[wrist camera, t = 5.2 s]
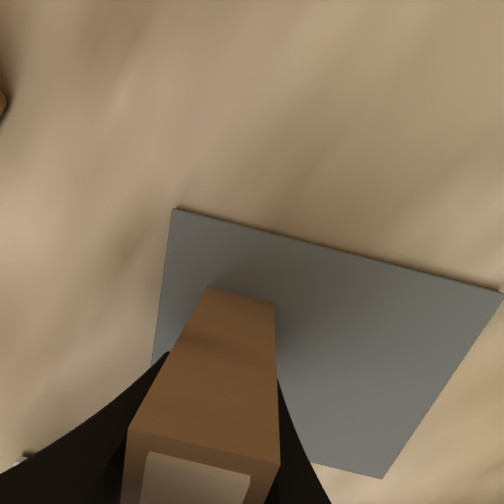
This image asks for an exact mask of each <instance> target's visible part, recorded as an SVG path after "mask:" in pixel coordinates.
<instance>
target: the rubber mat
mask: <svg viewBox="0 0 504 504" xmlns="http://www.w3.org/2000/svg"><path fill="white" fill-rule="evenodd" d="M206 287H210V288H214V289H218V290H222V291H226V292H230V293H234V294H238V295H242V296H246V297H250V298H254V299H258V300H262V301H266V302H269V303H273V304H274V321H275V344H276V368H277V379H278V380H279V383H280V387H281V390H282V393H283V396H284V400H285V402H286V405H287V408H288V411H289V414H290V417H291V419H292V422H293V424H294V427H295V429H296V432H297V434H298V437H299V439H300V441H301V444H302V446H303V448H304V451H305V453H306V455H307V457H308V459H309V461H310V462H313V463H317V464H321V465H325V466H329V467H333V468H337V469H341V470H345V471H349V472H353V473H357V474H362V475H366V476H370V477H374V478H378V479H383V477H384V476H385V474H386V473H387V471H388V470H389V468H390V467H391V465H392V464H393V463H394V461H395V460H396V458H397V457H398V455H399V454H400V452H401V451H402V449H403V448H404V446H405V445H406V443H407V442H408V440H409V439H410V437H411V436H412V434H413V433H414V431H415V430H416V428H417V427H418V425H419V424H420V422H421V421H422V419H423V418H424V416H425V415H426V414H427V412H428V411H429V409H430V408H431V406H432V405H433V403H434V402H435V400H436V399H437V397H438V396H439V394H440V393H441V391H442V390H443V388H444V387H445V385H446V384H447V382H448V381H449V379H450V378H451V376H452V375H453V373H454V372H455V370H456V369H457V367H458V366H459V365H460V363H461V362H462V360H463V359H464V357H465V356H466V354H467V353H468V351H469V350H470V348H471V347H472V345H473V344H474V342H475V341H476V339H477V338H478V336H479V335H480V333H481V332H482V330H483V329H484V327H485V326H486V324H487V323H488V321H489V320H490V318H491V317H492V316H493V314H494V313H495V311H496V310H497V308H498V307H499V305H500V304H501V302H502V301H503V299H504V294H503V293H501V292H499V291H496V290H492V289H488V288H484V287H480V286H477V285H473V284H469V283H465V282H461V281H457V280H453V279H449V278H445V277H442V276H438V275H434V274H430V273H426V272H422V271H418V270H414V269H411V268H407V267H403V266H399V265H395V264H391V263H387V262H383V261H379V260H376V259H372V258H368V257H364V256H360V255H356V254H352V253H348V252H345V251H341V250H337V249H333V248H329V247H325V246H321V245H317V244H314V243H310V242H306V241H302V240H298V239H294V238H290V237H286V236H282V235H279V234H275V233H271V232H267V231H263V230H259V229H255V228H251V227H248V226H244V225H240V224H236V223H232V222H228V221H224V220H220V219H216V218H213V217H209V216H205V215H201V214H197V213H193V212H189V211H185V210H182V209H178V208H174V209H172V215H171V222H170V229H169V237H168V244H167V251H166V259H165V266H164V273H163V281H162V288H161V295H160V303H159V310H158V317H157V325H156V332H155V339H154V347H153V354H152V361H151V366H152V365H154V364H155V363H156V361H157V360H158V359H159V358H160V357H161V356H162V355H163V354H164V353H165V352H167V351H169V352H171V350H172V348H173V346H174V344H175V343H176V341H177V339H178V337H179V335H180V334H181V332H182V330H183V328H184V326H185V325H186V323H187V321H188V319H189V317H190V316H191V314H192V312H193V310H194V308H195V307H196V305H197V303H198V301H199V299H200V298H201V296H202V294H203V292H204V290H205V289H206Z"/></svg>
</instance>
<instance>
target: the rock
mask: <svg viewBox="0 0 504 504" xmlns="http://www.w3.org/2000/svg"><path fill="white" fill-rule="evenodd" d="M6 104H7V99H6V97H5V95H4V94H3V93H2V92H1V91H0V116H1V115H2V114H3V112H4V109H5V107H6Z"/></svg>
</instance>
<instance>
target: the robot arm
mask: <svg viewBox="0 0 504 504" xmlns="http://www.w3.org/2000/svg"><path fill="white" fill-rule="evenodd" d="M169 353H170V352H169V351H167V352H165V353H164V354H163V355H162V356H161V357H160V358H159V359H158V360H157V361H156V363H155V364H154V365H152V366H151V367H150V368H149V369H148V370H147V371H146V372H145V373H144V374H143V375H142V376H141V377H140V378H139V379H138V380H136V381H135V382H134V383H133V384H132V385H131V386H130V387H129V388H127V389H126V390H125V391H124V392H123V393H121V394H120V395H119V396H118V397H116V398H115V399H114V400H113V401H112V402H110V403H109V404H108V405H107V406H105V407H104V408H103V409H101V410H100V411H99V412H97V413H96V414H95V415H93V416H92V417H90V418H89V419H88V420H86V421H85V422H84V423H82V424H81V425H79V426H78V427H76V428H75V429H73V430H72V431H70V432H69V433H67V434H66V435H64V436H63V437H61V438H60V439H58V440H57V441H55V442H54V443H52V444H50V445H49V446H47V447H46V448H44V449H42V450H41V451H39V452H37V453H35V454H34V455H32V456H30V457H29V458H27V457H19V458H17V460H16V461H15V462H14V463H13V467H12V468H10V469H8V470H7V471H5V472H3V473H1V474H0V504H120V499H121V489H122V480H123V471H124V462H125V452H126V443H127V434H128V427H129V425H130V423H131V422H132V420H133V418H134V416H135V414H136V413H137V411H138V409H139V407H140V405H141V404H142V402H143V400H144V398H145V396H146V395H147V393H148V391H149V389H150V387H151V386H152V384H153V382H154V380H155V378H156V377H157V375H158V373H159V371H160V370H161V368H162V366H163V364H164V362H165V361H166V359H167V357H168V355H169ZM277 392H278V416H279V440H280V464H281V465H280V467H279V470H278V472H277V474H276V476H275V479H274V481H273V483H272V486H271V488H270V490H269V492H268V495H267V497H266V499H265V502H264V504H332V503H331V502H330V500H329V498H328V496H327V494H326V493H325V491H324V489H323V487H322V485H321V483H320V481H319V479H318V477H317V476H316V474H315V472H314V470H313V468H312V466H311V463H310V461H309V459H308V457H307V455H306V453H305V451H304V448H303V446H302V444H301V441H300V439H299V437H298V434H297V432H296V429H295V427H294V424H293V422H292V419H291V417H290V414H289V411H288V408H287V405H286V402H285V400H284V396H283V393H282V390H281V387H280V383H279V380H278V379H277Z"/></svg>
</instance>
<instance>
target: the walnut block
mask: <svg viewBox="0 0 504 504" xmlns="http://www.w3.org/2000/svg"><path fill="white" fill-rule="evenodd" d="M280 465H281V464H280V440H279V416H278V392H277V368H276V344H275V321H274V304H273V303H269V302H266V301H262V300H258V299H254V298H250V297H246V296H242V295H238V294H234V293H230V292H226V291H222V290H218V289H214V288H210V287H206V289H205V290H204V292H203V294H202V296H201V298H200V299H199V301H198V303H197V305H196V307H195V308H194V310H193V312H192V314H191V316H190V317H189V319H188V321H187V323H186V325H185V326H184V328H183V330H182V332H181V334H180V335H179V337H178V339H177V341H176V343H175V344H174V346H173V348H172V350H171V352H170V353H169V355H168V357H167V359H166V361H165V362H164V364H163V366H162V368H161V370H160V371H159V373H158V375H157V377H156V378H155V380H154V382H153V384H152V386H151V387H150V389H149V391H148V393H147V395H146V396H145V398H144V400H143V402H142V404H141V405H140V407H139V409H138V411H137V413H136V414H135V416H134V418H133V420H132V422H131V423H130V425H129V427H128V434H127V443H126V452H125V462H124V471H123V480H122V489H121V499H120V504H264V502H265V499H266V497H267V495H268V492H269V490H270V488H271V486H272V483H273V481H274V479H275V476H276V474H277V472H278V470H279V467H280Z"/></svg>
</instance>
